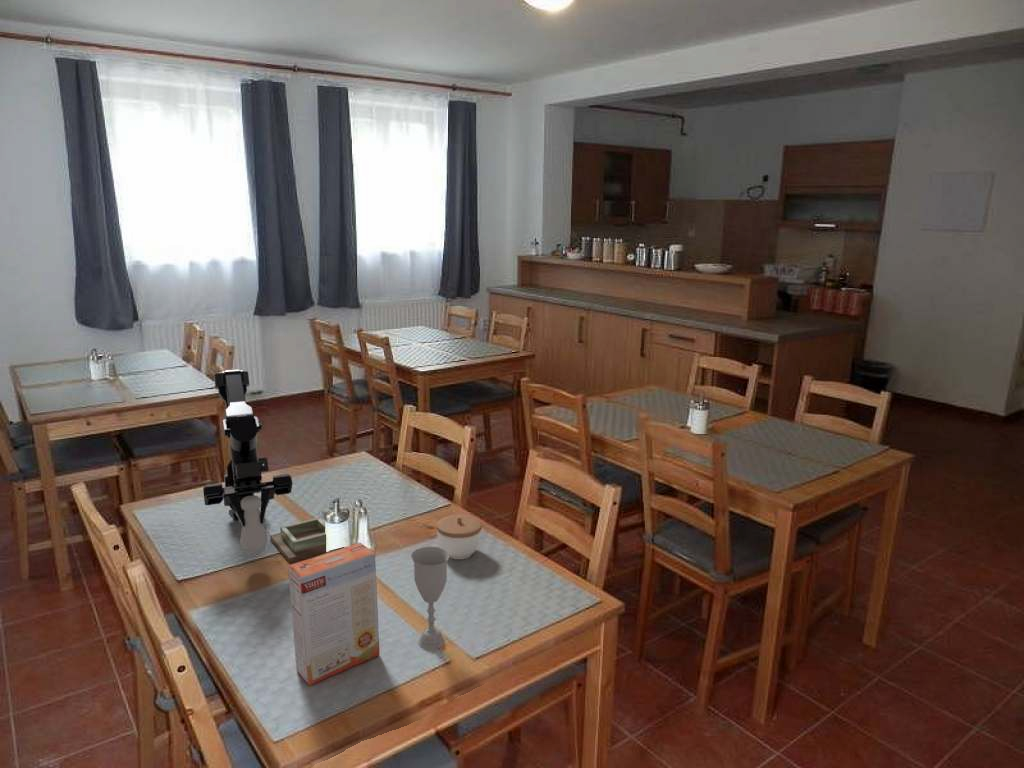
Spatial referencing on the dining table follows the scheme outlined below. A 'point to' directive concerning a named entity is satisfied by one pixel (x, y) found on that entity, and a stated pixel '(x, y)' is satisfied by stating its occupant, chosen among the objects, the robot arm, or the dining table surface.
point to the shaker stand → (301, 539)
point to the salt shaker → (252, 527)
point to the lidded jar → (459, 535)
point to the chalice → (430, 588)
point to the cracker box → (334, 611)
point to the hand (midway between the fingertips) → (253, 524)
